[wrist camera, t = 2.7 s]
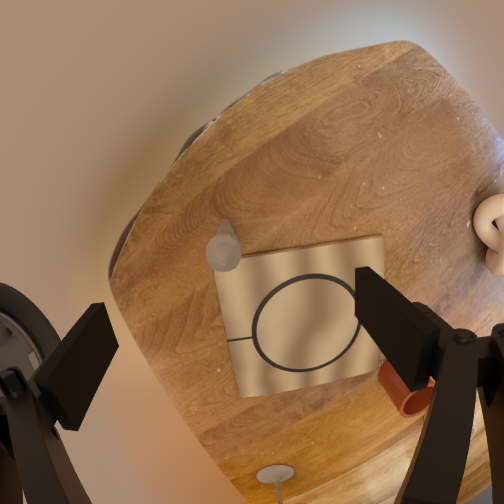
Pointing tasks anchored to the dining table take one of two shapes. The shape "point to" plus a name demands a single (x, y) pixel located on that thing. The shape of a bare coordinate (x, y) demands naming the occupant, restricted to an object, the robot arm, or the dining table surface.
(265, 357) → the drawing board
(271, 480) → the wineglass
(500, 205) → the beige decorative knot
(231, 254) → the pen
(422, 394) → the pen pot
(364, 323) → the robot arm
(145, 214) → the dining table surface
